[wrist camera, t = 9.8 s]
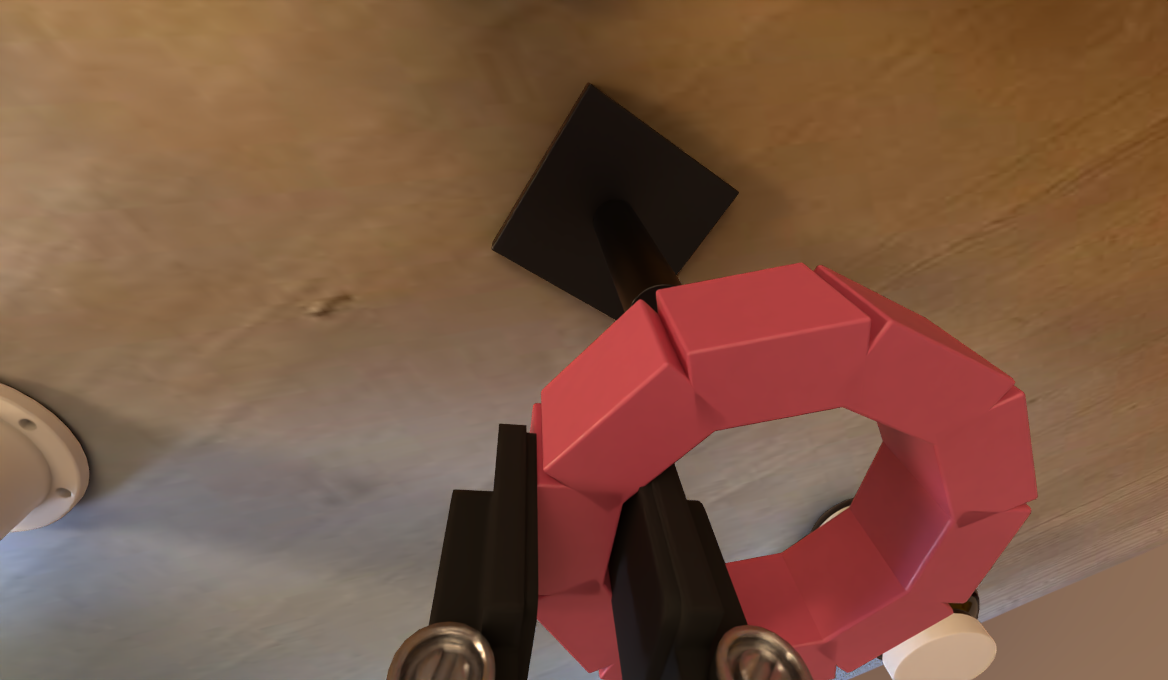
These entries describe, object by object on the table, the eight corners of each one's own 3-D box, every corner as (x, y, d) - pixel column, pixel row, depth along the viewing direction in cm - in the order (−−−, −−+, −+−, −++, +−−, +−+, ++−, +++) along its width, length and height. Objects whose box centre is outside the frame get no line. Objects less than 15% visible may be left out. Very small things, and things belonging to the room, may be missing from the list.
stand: (491, 242, 31) (470, 358, 20) (587, 81, 28) (629, 106, 16) (631, 322, 34) (683, 461, 23) (732, 187, 31) (854, 271, 19)
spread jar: (926, 502, 45) (1043, 636, 35) (857, 591, 50) (942, 731, 40) (800, 479, 42) (887, 617, 32) (741, 575, 47) (799, 721, 37)
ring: (431, 491, 12) (409, 586, 10) (794, 152, 9) (873, 183, 7) (703, 649, 16) (729, 742, 14) (1022, 443, 13) (1119, 522, 11)
